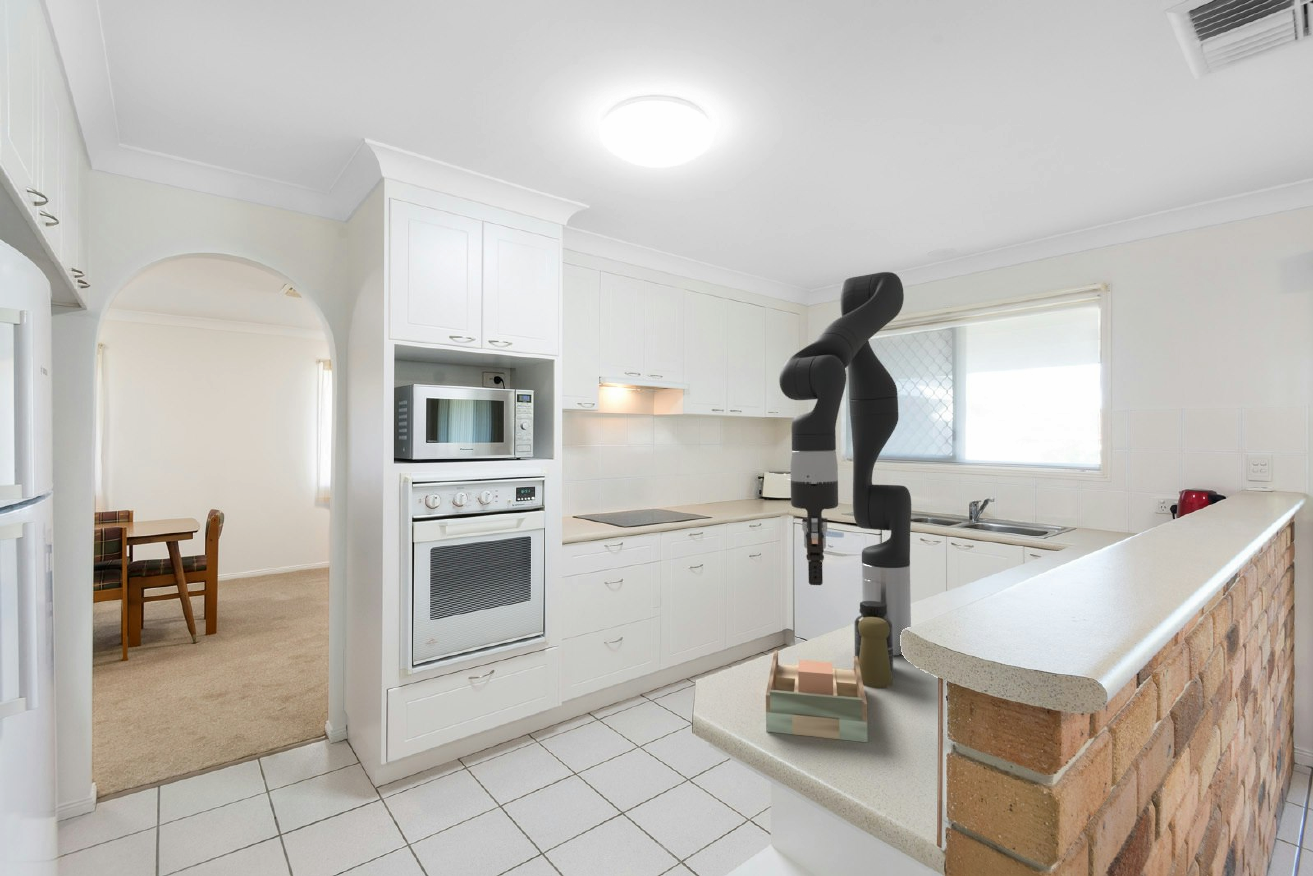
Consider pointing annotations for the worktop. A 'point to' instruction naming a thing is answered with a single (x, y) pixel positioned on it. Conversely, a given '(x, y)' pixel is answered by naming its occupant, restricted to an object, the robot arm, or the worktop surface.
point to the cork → (874, 653)
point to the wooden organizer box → (816, 705)
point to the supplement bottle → (880, 612)
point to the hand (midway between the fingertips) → (815, 584)
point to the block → (815, 677)
